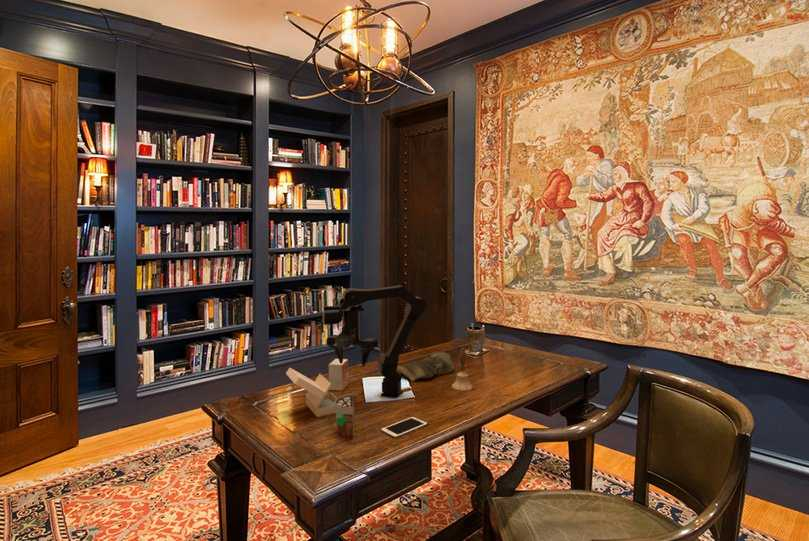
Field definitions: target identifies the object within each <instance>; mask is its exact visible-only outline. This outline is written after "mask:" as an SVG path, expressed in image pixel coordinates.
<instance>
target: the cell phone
mask: <svg viewBox="0 0 809 541" xmlns="http://www.w3.org/2000/svg"><path fill="white" fill-rule="evenodd" d="M426 425H428V426H429V422H428V421H425V420H423V419H421V418H419V417H417V416H409V417H407V418H404V419H402V420H398V421H397V422H394V423H391V424H389V425H386V426H384V427H382V428H380V431H379V432H380V433H383V434H384V435H387V437H390V438H392V439H394V438H397V439H399V438H402V437H404V436H406V434H407V435H409V434H411V433H413V431H414V432H416V431H417V429H419V430H420V428H421V429H423V428H425V427H424V426H426ZM422 427H423V428H422ZM426 427H427V426H426ZM415 430H416V431H415ZM410 432H411V433H410ZM408 433H409V434H408ZM403 435H404V436H403ZM401 436H402V437H401ZM398 437H399V438H398Z"/></svg>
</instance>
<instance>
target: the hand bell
mask: <svg viewBox="0 0 809 541" xmlns="http://www.w3.org/2000/svg"><path fill="white" fill-rule="evenodd" d="M466 359H467V352H466V349H465V347H461V348H460V351H459V363H460V369H459V370H460V372H457V373H456V379H455V381H454V382H453V383H452V384H451V389H453V390H456V391H459V392H460V391H461V392H468V391H471V390H473V388H474V386H473V385H472V384H471V382H470V378H469V374H468V373H467V372H466V368H465V367H466V366H465V365H466V361H467V360H466Z"/></svg>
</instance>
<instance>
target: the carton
mask: <svg viewBox="0 0 809 541" xmlns="http://www.w3.org/2000/svg"><path fill="white" fill-rule="evenodd" d="M336 398H338V397H337V396H336V395H335V394H334V393H333V392H332V391H331V392H327V393H326V395H325V396H324V398H323V400H322V401H321V403H320V404H319V406H318V408H317V407H315V406H314V404H313V403H312V402H311V401H310V400H309V399H308V398H307V397H306V396H305V401H306V402H305V403H306V407H307V408H308V409H309V410H310V411H311V412H312V413H313V415H314V416H315V417H316V418H322V417H325V416H330V415H334V414H335V415H336V411H335V410H334V409H333V406H334V402H335V400H336Z"/></svg>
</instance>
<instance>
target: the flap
mask: <svg viewBox="0 0 809 541" xmlns="http://www.w3.org/2000/svg"><path fill="white" fill-rule="evenodd" d="M285 374H286V376H287V377H288V378H289V379H290V380H291V381H292V383H294V385H295V386H296V385H297V386H298V387H300V388H302V389H304V390H306V391H307V393H306V394H305V398H306V397H307V398H308V399H309V400H310V401H311V402H312V403H313V404H314V406H315V407H317V408H318V406H319V404H320V403H321V401H322V400H323V398H324V396H325V395H326V393H329V391H330V390H329V389H330V387H331V385H332V384H331V383H330V382H329V379H327V378H326V377H325V376H323V375H322V374H321V373H318V376H317V377H316V379H315V380H312V379H311V378H309V377H307V376H305V375H304V374H302V373H300V372H299V371H297V370H295V369H294V368H291V367H289V368H288V370H287V371H286V372H285Z"/></svg>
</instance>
